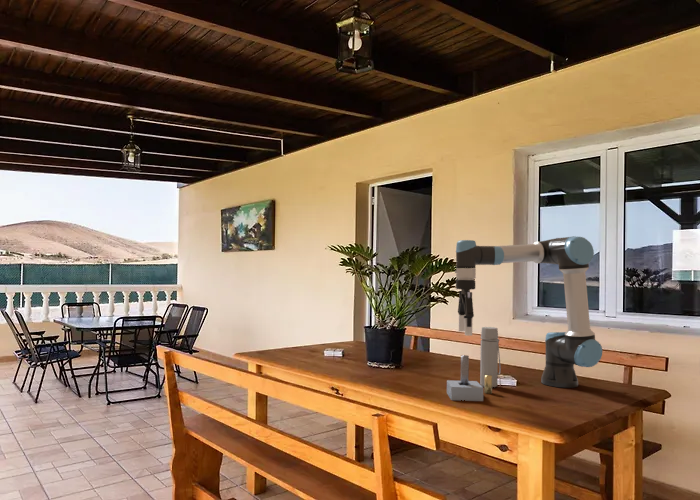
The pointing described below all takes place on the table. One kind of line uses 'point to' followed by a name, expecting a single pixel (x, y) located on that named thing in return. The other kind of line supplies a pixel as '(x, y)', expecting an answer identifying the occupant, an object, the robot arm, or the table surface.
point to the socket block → (464, 391)
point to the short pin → (488, 384)
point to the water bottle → (489, 355)
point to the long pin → (464, 369)
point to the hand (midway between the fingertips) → (465, 333)
